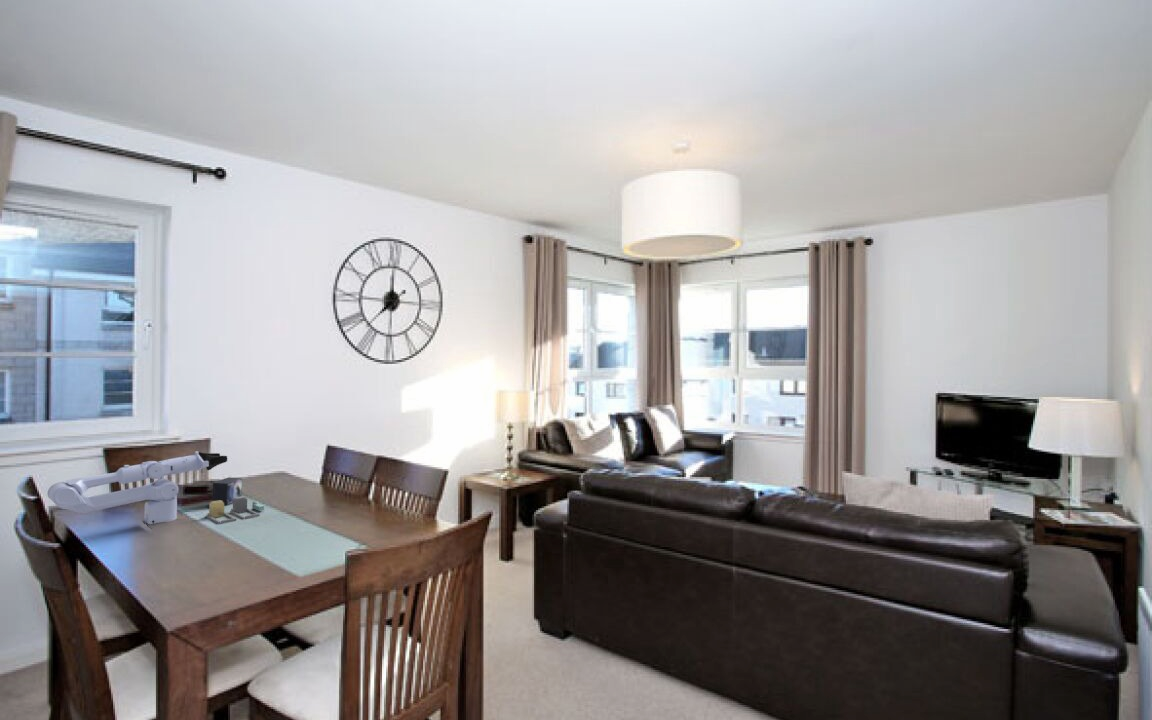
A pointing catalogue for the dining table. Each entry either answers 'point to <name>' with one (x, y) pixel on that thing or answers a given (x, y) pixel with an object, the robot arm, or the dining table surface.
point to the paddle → (257, 506)
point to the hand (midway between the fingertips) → (223, 457)
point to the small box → (227, 490)
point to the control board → (233, 517)
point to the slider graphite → (240, 504)
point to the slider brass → (216, 509)
